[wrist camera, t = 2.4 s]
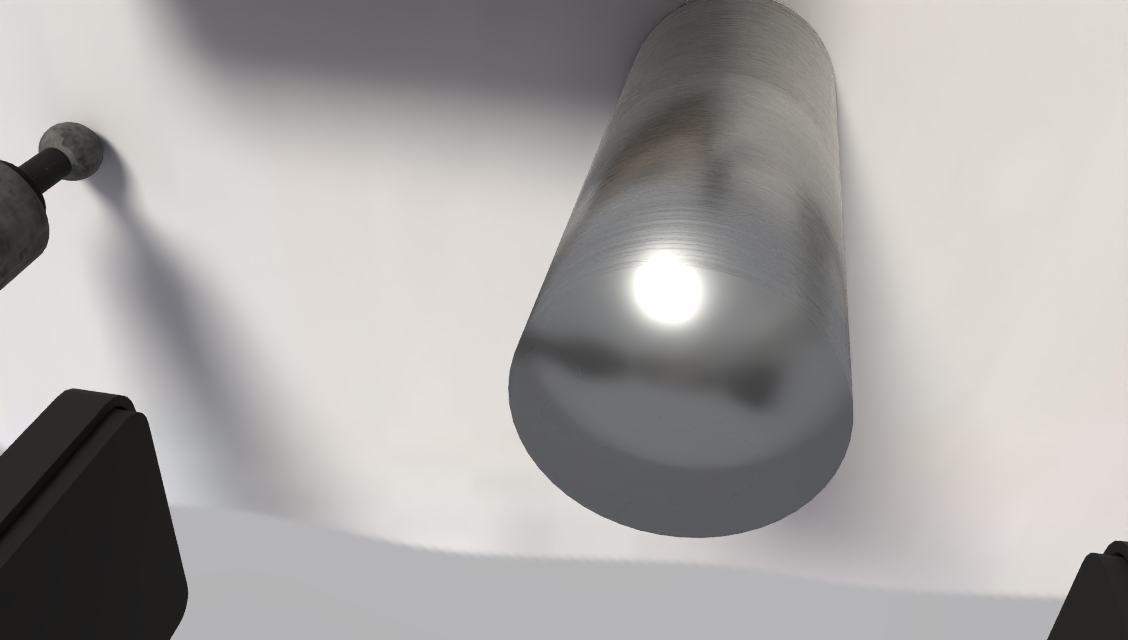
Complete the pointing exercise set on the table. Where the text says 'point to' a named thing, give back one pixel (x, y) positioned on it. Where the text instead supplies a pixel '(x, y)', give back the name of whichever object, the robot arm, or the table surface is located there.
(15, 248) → the microphone
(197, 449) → the table surface
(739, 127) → the pin
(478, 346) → the table surface
